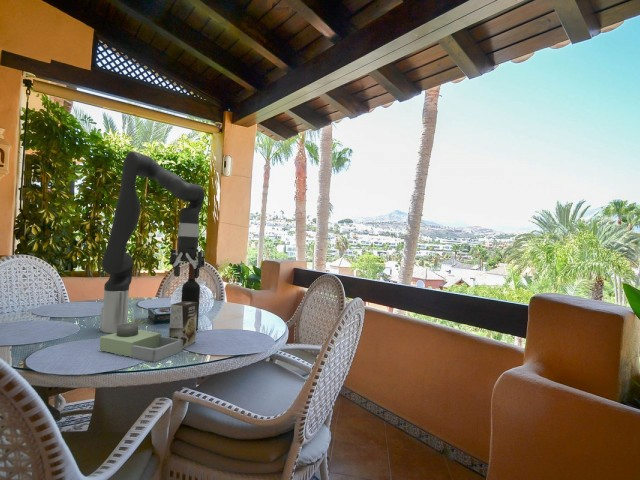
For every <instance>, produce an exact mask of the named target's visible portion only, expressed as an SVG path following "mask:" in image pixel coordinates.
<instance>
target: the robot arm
mask: <svg viewBox="0 0 640 480" xmlns="http://www.w3.org/2000/svg"><path fill="white" fill-rule="evenodd" d="M121 171H122V173H121V182H120V188H119V193H118V197H117V202H116V207H115V211H114V215H113V219H112V225H111V229H110V233H109V239H108V242H107V245H106V248H105V251H104V254H103V255H102V256H103V257H102V260H101V267H102V270H103V271H104V273H106V274H108V275H109V278H108V280H107V281H106V282H105V283H104V285H103V287H104V288H103V305H102V306H103V307H101V310H100V326H99V328H100V329H99V330H100V331H101V332H102V333H107V334H113V333H117V326H119V325H122V324H128V315H129V296H130V285H131V284H132V280H133V270H134V262H133V258H132V256H131V255H130V253H128V252H126V250H127V249H126V248H127V245H128V242H129V240H130V239H131V237H132V235H133V233H134V232H135V230H136V228H137V226H138V224H139V221H140V216H141V211H142V205H141V202H140V199H139V196H138V193H137V190H136V189H137V188H136V183H137V177H141V178H146V179H151V180H154V181H156V182H157V183H158V185H159V186H161V188H162V189H163V188H164V189H165V190H167V191H168V192H171V193H172V194H173V196H174V197H176V198H177V199H178V200H181V201H183V202H188V204H187V207H182V208H181V209H180V211H179V223H178V224H179V225H178V229H177V248H178V249H175V248H174V249H170V256H169V265H172V266H173V275H174V277H175V278H177V277H180V275H181V267H180V266H181V265H182V263H184V262H187V263H189V262H190V263H191V264H192V265H193V267H194V269H193V278H194V279H195V280H196V279H199V277H200V270H201V268H204V267H205V251H198V248H199V235H200V228H199V227H200V225H199V223H200V222H199V221H200V213H201V209H202V206H203V203H204V201H205V197H206V196H205V189H204V188H203V187H202V185H200V184H196V183H191V182H187V181H186V180H185V179H184V178H183V177H181V176H179V175H178V174H176V173H174V172H172V171H170V170H168V169H167V168H164V167H163V166H162V165H160V164H159V163H158V162H157V161H156V160H154V159H153V158H152V157H151V156H149V155H146V154H142V153H140V152H137V151H132V150H131V151H129V152H128V153H127V154H126V155H125V158H124V160H123V165H122V170H121Z"/></svg>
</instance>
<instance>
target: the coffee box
mask: <svg viewBox="0 0 640 480" xmlns="http://www.w3.org/2000/svg"><path fill="white" fill-rule="evenodd" d="M197 303H198V302H187V301H183V302H181V301H180V302H176V303H172V304H170V317H169V333H168V337H170V338H175V339H181V340H183V349H185V348H186V347H189V346H191V345H193V344H195V343H196V332H197V331H196V320H197ZM194 342H195V343H194Z"/></svg>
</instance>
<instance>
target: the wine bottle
mask: <svg viewBox="0 0 640 480" xmlns="http://www.w3.org/2000/svg"><path fill="white" fill-rule="evenodd" d="M193 269H194V267H193V265H192V264H191V263H190V262H188V278H187V281H186V282H184V283H183V284H182V286H181V297H180V298H181V301H180V302H183V301H187V302H198V303H197V320H196V332H198V331H197V330H198V329H199V313H200V297H201V296H200V295H201V286H200V284H199V283H198V282H197V281H196V279H194V278H193Z"/></svg>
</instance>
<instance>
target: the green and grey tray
mask: <svg viewBox="0 0 640 480" xmlns="http://www.w3.org/2000/svg"><path fill="white" fill-rule="evenodd" d="M139 326H140V325H139V324H135V323H127V324H122V325H119V326H117V333H108V334H106V335H102V336H100V337H99V351H100V350H101V351H100V352H102V351H106V352H105V353H107V352H111V353H116V354H120V355H119V356H121V355H124V356H123V357H126V356H130V357H129V358H131V357H133V358H132V359H136V358H138V359H137V360H143V361H146V362H151V363H156V362H159V361H161V360H164V359H166V358H168V357H169V358H170V357H171V356H174V355H175V354H176V355H177V354H178V353H180V352H184V348H183V340H181V339H175V338H170V337H169V336H163V335H162V333H161V332H156V331H149V330H144V329H139ZM111 353H110V354H111ZM116 354H115V355H116Z"/></svg>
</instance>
